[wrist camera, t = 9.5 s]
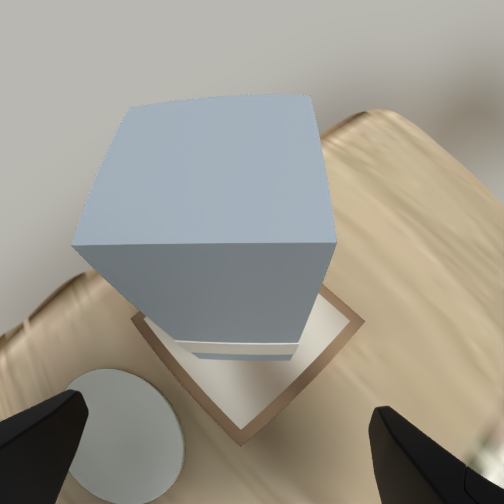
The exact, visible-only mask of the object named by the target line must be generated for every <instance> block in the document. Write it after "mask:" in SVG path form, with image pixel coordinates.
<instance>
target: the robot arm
mask: <svg viewBox="0 0 504 504" xmlns="http://www.w3.org/2000/svg"><path fill="white" fill-rule="evenodd" d="M88 415H89V410H88V407H87V405H86V402H85V400H84V397H83V395H82V393H81V392H80V391H77V390H73V389H68V390H66V391H64V392H62V393H60V394H58V395H56V396H54V397H52V398H50V399H48V400H46V401H43V402H41V403H39V404H37V405H35V406H33V407H31V408H29V409H27V410H24V411H22V412H20V413H18V414H16V415H14V416H12V417H9V418H7V419H5V420H3V421H1V422H0V504H55V502H56V500H57V497H58V495H59V492H60V490H61V487H62V485H63V483H64V480H65V478H66V475H67V473H68V471H69V468H70V466H71V464H72V461H73V459H74V457H75V454H76V452H77V449H78V446H79V443H80V440H81V437H82V434H83V431H84V428H85V425H86V422H87V419H88ZM368 431H369V439H370V446H371V453H372V460H373V468H374V474H375V478H376V482H377V486H378V490H379V494H380V498H381V502H382V504H504V489H503V488H501V487H499V486H497V485H496V484H494V483H492V482H491V481H489V480H487V479H486V478H484V477H483V476H481V475H480V474H478V473H477V472H475V471H474V470H473V469H471V468H470V467H468V466H466V464H464V463H463V462H462V461H460V460H459V459H457V458H456V457H455V456H453V455H452V454H451V453H449V452H448V451H447V450H445V449H444V448H443V447H441V446H440V445H439V444H438V443H436V442H435V441H434V440H432V439H431V438H430V437H428V436H427V435H426V434H424V433H423V432H422V431H421V430H419V429H418V428H417V427H415V426H414V425H413V424H411V423H410V422H409V421H408V420H406V419H405V418H404V417H403V416H401V415H400V414H399V413H397V412H396V411H395V410H394V409H392V408H391V407H390V406H380V407H376V408H375V409H374V411H373V414H372V417H371V421H370V424H369V429H368Z"/></svg>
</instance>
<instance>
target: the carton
mask: <svg viewBox="0 0 504 504" xmlns="http://www.w3.org/2000/svg"><path fill="white" fill-rule="evenodd" d="M336 244H337V238H336V231H335V224H334V217H333V210H332V204H331V198H330V191H329V185H328V180H327V174H326V168H325V163H324V158H323V152H322V147H321V142H320V137H319V133H318V128H317V123H316V118H315V114H314V109H313V105H312V101H311V96H310V95H239V96H222V97H208V98H197V99H187V100H178V101H170V102H162V103H156V104H149V105H142V106H136V107H131V108H129V109H128V111H127V112H126V115H125V116H124V118H123V120H122V122H121V124H120V126H119V128H118V130H117V132H116V134H115V136H114V138H113V140H112V142H111V144H110V147H109V149H108V151H107V153H106V155H105V158H104V160H103V162H102V164H101V167H100V169H99V171H98V174H97V176H96V178H95V181H94V183H93V186H92V188H91V191H90V193H89V196H88V198H87V201H86V204H85V206H84V209H83V212H82V214H81V217H80V220H79V223H78V226H77V229H76V232H75V235H74V238H73V241H72V244H71V246H72V247H73V248H74V249H75V250H76V251H77V252H78V253H79V254H80V255H81V256H82V257H83V258H84V259H85V260H86V261H87V262H88V263H89V264H90V265H91V266H92V267H93V268H94V269H95V270H96V271H97V272H98V273H99V274H100V275H101V276H102V277H103V278H104V279H105V280H106V281H108V282H109V283H110V284H111V285H112V286H113V287H114V288H115V289H116V290H117V291H118V292H119V293H120V294H122V295H123V296H124V297H125V298H126V299H127V300H128V301H129V302H131V303H132V304H133V305H134V306H135V307H136V308H137V309H138V310H140V311H141V312H142V313H143V314H144V315H145V316H147V317H148V318H149V319H150V320H151V321H152V322H154V323H155V324H156V325H157V326H158V327H160V328H161V329H162V330H163V331H165V332H166V333H167V334H168V335H169V336H171V337H172V338H173V339H174V342H176V343H177V344H178V345H179V346H181V347H182V348H183V349H185V350H186V351H187V352H191V353H192V354H194V355H195V356H196V357H197V358H199V359H210V360H237V361H291V358H292V356H293V354H295V353H296V350H297V348H298V346H299V340H300V337H301V335H302V333H303V330H304V328H305V325H306V323H307V320H308V318H309V315H310V313H311V311H312V308H313V306H314V303H315V300H316V298H317V295H318V293H319V290H320V288H321V285H322V282H323V280H324V277H325V274H326V272H327V269H328V266H329V264H330V261H331V258H332V255H333V253H334V250H335V247H336Z"/></svg>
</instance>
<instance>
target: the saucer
mask: <svg viewBox="0 0 504 504" xmlns="http://www.w3.org/2000/svg"><path fill="white" fill-rule="evenodd" d="M68 389H73V390H77V391H80V392H81V393H82V395H83V397H84V400H85V402H86V405H87V407H88V410H89V415H88V419H87V422H86V425H85V428H84V431H83V434H82V437H81V440H80V443H79V446H78V449H77V452H76V454H75V457H74V459H73V461H72V464H71V466H70V468H69V472H70V473H71V475H72V476H73V477H74V478H75V479H76V480H77V482H78V483H79V484H80V485H82V486H83V487H84V488H85V489H86V490H88V491H89V492H90V493H92V494H93V495H95V496H97V497H99V498H101V499H103V500H105V501H108V502H111V503H115V504H144V503H147V502H150V501H152V500H154V499H156V498H158V497H159V496H161V495H162V494H164V493H165V492H166V491H167V490H169V489H170V488H171V486H172V485H173V484H174V483H175V481H176V480H177V478H178V477H179V475H180V472H181V470H182V467H183V463H184V458H185V440H184V434H183V430H182V427H181V423H180V421H179V419H178V416H177V414H176V412H175V411H174V409H173V407H172V406H171V404H170V403H169V402H168V400H167V399H166V398H165V397H164V395H163V394H162V393H161V392H160V391H159V390H158V389H156V388H155V387H154V386H153V385H152V384H150V383H149V382H147V381H146V380H144V379H142V378H140V377H138V376H136V375H133V374H130V373H127V372H124V371H120V370H116V369H98V370H93V371H90V372H87V373H85V374H83V375H81V376H79V377H78V378H76V379H75V380H74V381H73V382H72V383H71V384H70V385H69V386H68V387H67V388H66V389H65V391H66V390H68Z"/></svg>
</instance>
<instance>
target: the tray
mask: <svg viewBox="0 0 504 504" xmlns="http://www.w3.org/2000/svg"><path fill="white" fill-rule="evenodd" d="M131 320H132V322H133V323H134V324H135V326H136V327H137V329H138V330H139V331H140V333H141V334H142V335H143V337H144V338H145V339H146V340H147V342H148V343H149V344H150V346H151V347H152V348H153V350H154V351H155V352H156V353H157V355H158V356H159V357H160V358H161V360H162V361H163V362H164V363H165V365H166V366H167V367H168V368H169V369H170V371H171V372H172V373H173V374H174V375H175V377H176V378H177V379H178V380H179V381H180V383H181V384H182V385H183V386H184V387H185V388H186V389H187V391H188V392H189V393H190V394H191V395H192V396H193V397H194V399H195V400H196V401H197V402H198V403H199V404H200V405H201V406H202V407H203V408H204V409H205V411H206V412H207V413H208V414H209V415H210V416H211V417H212V418H213V419H214V420H215V421H216V422H217V423H218V424H219V425H220V426H221V427H222V428H223V429H224V430H225V431H226V432H227V433H228V434H229V435H230V436H231V437H232V438H233V439H234V440H235V441H236V442H237V443H238V444H239V445H240V446H242V445H243V444H244V443H245V442H247V441H248V440H249V439H250V438H251V437H252V436H254V435H255V434H256V433H257V432H258V431H259V430H260V429H262V428H263V427H264V426H265V425H266V424H267V423H268V422H269V421H270V420H272V419H273V418H274V417H275V416H276V415H277V414H278V413H279V412H280V411H281V410H282V409H283V408H284V407H285V406H287V405H288V404H289V403H290V402H291V401H292V400H293V399H294V398H295V397H296V396H297V395H298V394H299V393H300V392H301V391H302V390H303V389H304V388H305V387H306V386H307V385H308V384H309V383H310V382H311V381H312V380H313V379H314V378H315V377H316V376H317V375H318V374H319V372H320V371H321V370H322V369H323V368H324V367H325V366H326V365H327V364H328V363H329V362H330V361H331V360H332V359H333V357H334V356H335V355H336V354H337V353H338V352H339V351H340V350H341V349H342V348H343V346H344V345H345V344H346V343H347V342H348V341H349V340H350V338H351V337H352V336H353V335H354V334H355V333H356V331H357V330H358V329H359V328H360V327H361V326H362V324H363V323H364V322H365V321H364V320H363V319H362V318H361V317H360V316H359V315H358V314H356V313H355V312H354V311H353V310H352V309H351V308H350V307H348V306H347V305H346V304H345V303H344V302H343V301H342V300H340V299H339V298H338V297H337V296H336V295H335V294H334V293H332V292H331V291H330V290H329V289H328V288H327V287H325V286H324V285H323V284H322V285H321V288H320V290H319V293H318V295H317V298H316V300H315V303H314V306H313V308H312V311H311V313H310V315H309V318H308V320H307V323H306V325H305V328H304V330H303V333H302V335H301V337H300V340H299V346H298V348H297V350H296V353H295V354H293V356H292V358H291V361H237V360H210V359H199V358H197V357H196V356H195V355H194V354H192V353H191V352H187V351H186V350H185V349H183V348H182V347H181V346H179V345H178V344H177V343H176V342H174V339H173V338H172V337H171V336H169V335H168V334H167V333H166V332H165V331H163V330H162V329H161V328H160V327H158V326H157V325H156V324H155V323H154V322H152V321H151V320H150V319H149V318H148V317H147V316H145V315H144V314H143V313H142V312H141V311H139V312H138V313H137V314H136V315H134V316H133V317H132V318H131Z"/></svg>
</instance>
